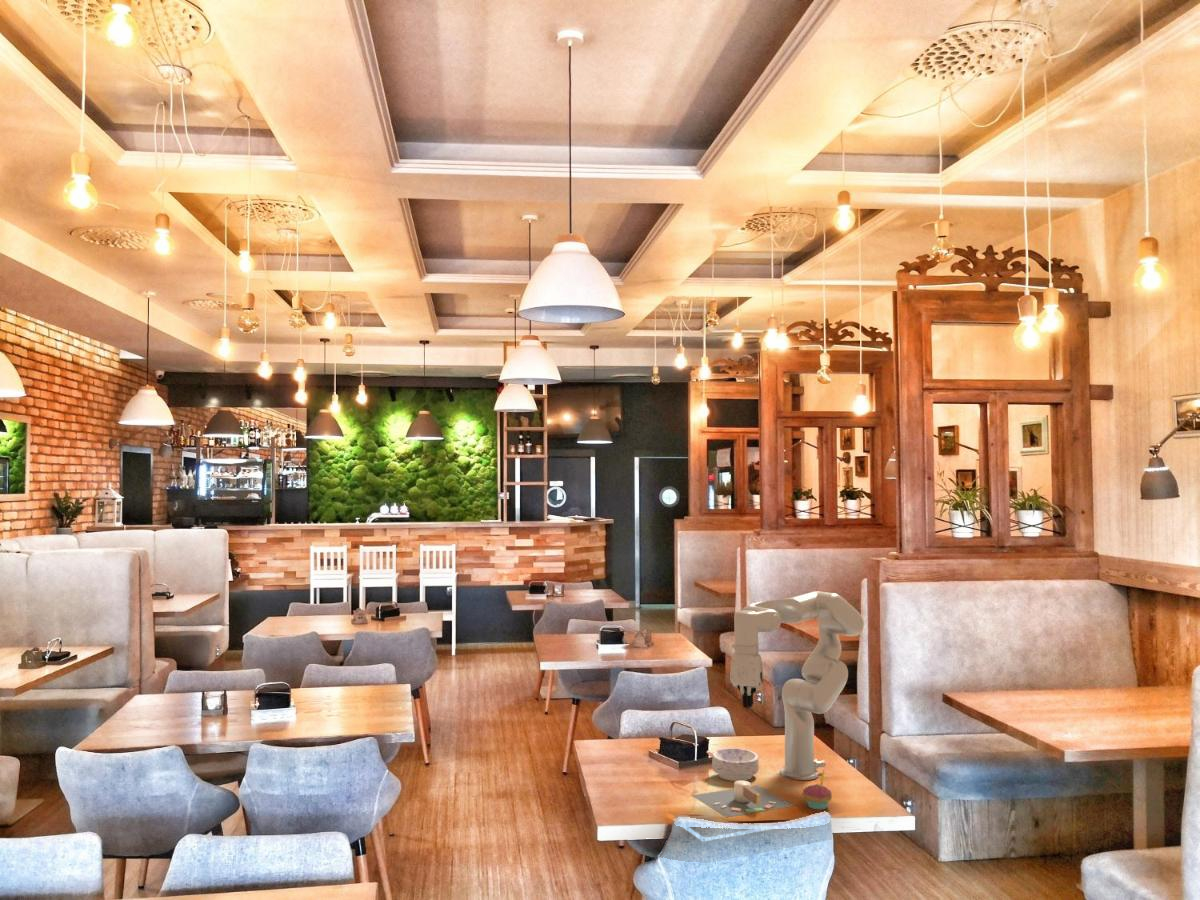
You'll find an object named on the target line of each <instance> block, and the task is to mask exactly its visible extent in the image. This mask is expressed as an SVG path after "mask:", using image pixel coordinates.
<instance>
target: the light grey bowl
mask: <svg viewBox="0 0 1200 900" xmlns="http://www.w3.org/2000/svg"><path fill="white" fill-rule="evenodd" d="M711 760H712V762H711V764H712V765H711V766H712V767H711V768H712V771H713V772H715V773H716V774H718V777H719V778H720V779H721V780H722V779H723V780H725V781H727V780H728V781H732V782H735V781H748V780H751V779H752V778H753V776H754V775H756V774H758V772H759V770H760V767H759V765H760V764H759V763H760V762H759V755H758V754H757V753H756V752H754V751H752V750H749V749H745V748H736V747H733V748H732V747H729V748H728V747H727V748H721V749H717V750H715V751H713V753H712V755H711Z"/></svg>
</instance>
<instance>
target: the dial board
mask: <svg viewBox="0 0 1200 900" xmlns="http://www.w3.org/2000/svg"><path fill="white" fill-rule="evenodd" d="M751 788H752V789H754V790H755V791H757V792H758V793H760V805H757V804H754V803H753V802H751V801H750V802H747V803H741V802H737V801H735V800H734V788H731V789H723V790H717V791H711V792H705V793H704V792H703V793H697V794H693V795H691V796H692V797H694V798H695V799H696V800H698V801H700V802H701V803H703V804H704V805H706V806H708V807H709V808H711V809H713V810H714V811H716V812H718V813H719V814H721V815H722V816H724V817H726V818H730V817H732V818H733V817H737V816H743V815H749V814H754V813H755V814H756V813H761V812H766V811H767V812H768V811H773V810H780V809H784V808H785V809H786V808H789V807H795V805H794V804H792V803H791V802H789V801H787V800H785V799H783V798H781V797H779V796H778V795H776V794H774V793H772V792H770V791H768V790H766V789H764V788H763V787H761V786H759V785H751Z"/></svg>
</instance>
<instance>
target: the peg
mask: <svg viewBox="0 0 1200 900" xmlns="http://www.w3.org/2000/svg"><path fill="white" fill-rule="evenodd" d="M751 786H752V783H751V782H749V781H748V780H744V781H733V787H734V788H733V789H734V800H735V801H737V802H741V803H747V802H750V801H751V802H753V803H754V804H757V805H760V793H758V792H757V791H755V790H754V789H752V788H751Z"/></svg>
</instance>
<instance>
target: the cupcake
mask: <svg viewBox="0 0 1200 900" xmlns="http://www.w3.org/2000/svg"><path fill="white" fill-rule="evenodd" d="M824 778H825V769H823V770H822V772H821V777H820V784H812V785H808V786H807V787H806V786H805V788H804V789H803V790H802V797H803V798H804V799H805V800H806V802H807V805H808V807H809V808H811V809H813V810H814V809H815V810H825V809H826V808H827V806H828V804H829V801H830V802H831V800H832V797H833V795H832V791H831V789H829V788H828V787H826V786H823V783H824Z"/></svg>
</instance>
